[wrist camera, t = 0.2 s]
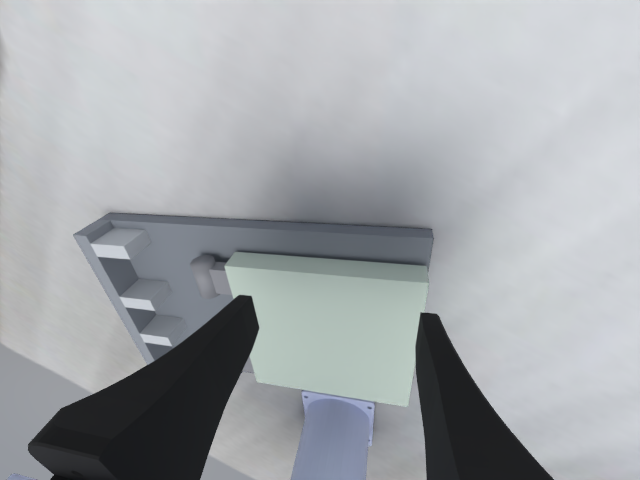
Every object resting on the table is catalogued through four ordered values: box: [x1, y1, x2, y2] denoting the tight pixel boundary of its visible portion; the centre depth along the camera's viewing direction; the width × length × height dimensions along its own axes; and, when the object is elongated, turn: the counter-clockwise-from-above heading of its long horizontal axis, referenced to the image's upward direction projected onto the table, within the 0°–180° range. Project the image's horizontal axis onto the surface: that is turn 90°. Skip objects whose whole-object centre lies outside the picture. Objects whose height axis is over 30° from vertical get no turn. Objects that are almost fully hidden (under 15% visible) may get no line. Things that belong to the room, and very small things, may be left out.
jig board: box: [73, 213, 434, 373], centre depth 27 cm, size 18×26×4 cm
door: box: [190, 252, 429, 407], centre depth 25 cm, size 14×17×2 cm
